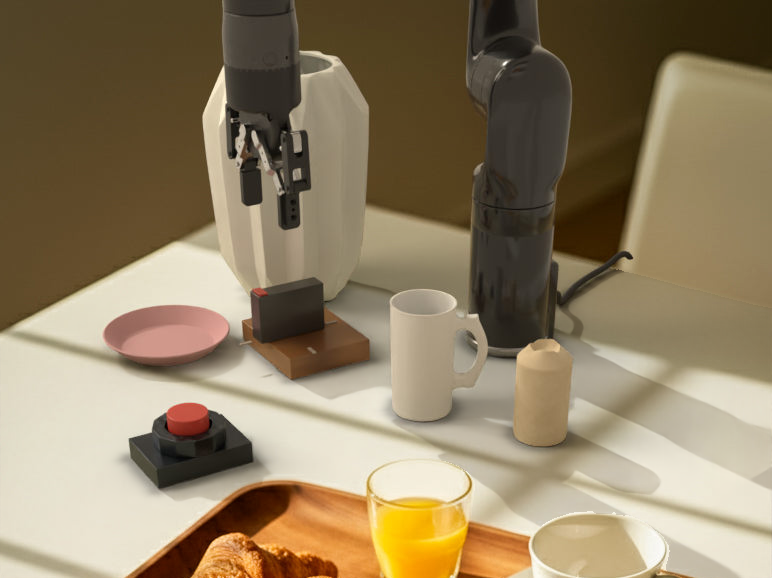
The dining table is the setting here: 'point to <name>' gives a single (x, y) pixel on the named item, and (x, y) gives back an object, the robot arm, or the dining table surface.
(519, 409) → the candle
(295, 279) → the vase
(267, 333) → the bar knob
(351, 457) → the dining table surface
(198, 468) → the button block
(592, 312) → the dining table surface
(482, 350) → the mug
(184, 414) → the button
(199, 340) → the plate
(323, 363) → the oak panel
